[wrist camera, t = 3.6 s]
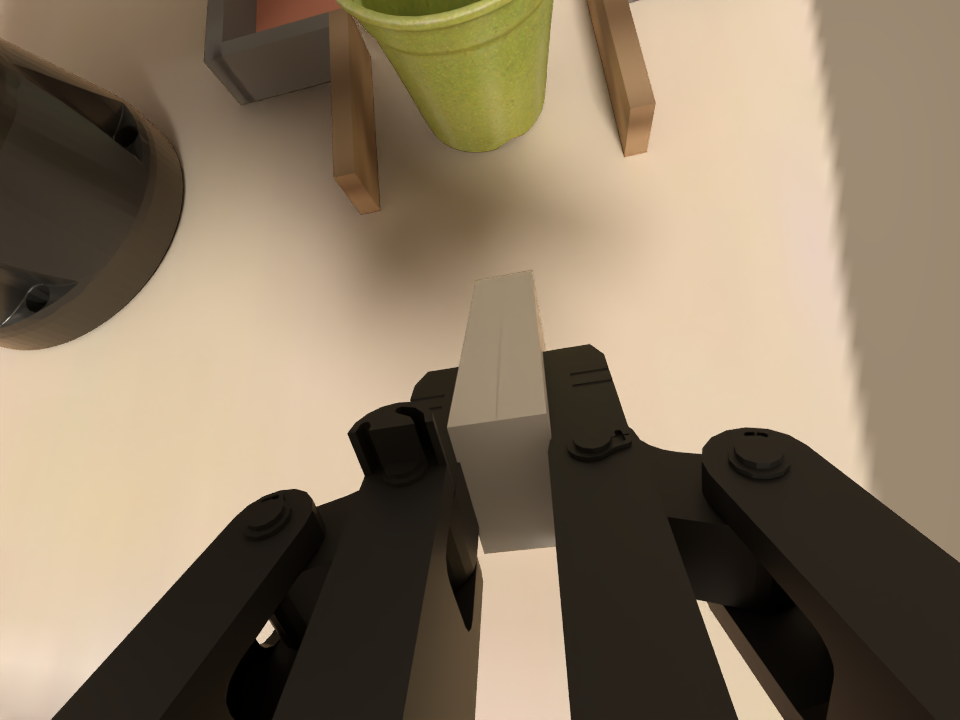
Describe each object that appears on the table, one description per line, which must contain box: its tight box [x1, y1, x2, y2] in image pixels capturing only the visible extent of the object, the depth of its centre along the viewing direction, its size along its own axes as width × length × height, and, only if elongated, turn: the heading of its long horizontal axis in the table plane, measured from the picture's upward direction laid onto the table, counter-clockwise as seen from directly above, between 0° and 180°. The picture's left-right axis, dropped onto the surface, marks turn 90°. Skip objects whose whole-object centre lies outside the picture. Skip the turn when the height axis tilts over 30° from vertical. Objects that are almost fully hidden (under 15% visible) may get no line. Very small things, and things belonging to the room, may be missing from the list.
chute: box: [329, 0, 655, 214], centre depth 24 cm, size 10×14×3 cm
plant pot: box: [335, 0, 553, 152], centre depth 22 cm, size 9×9×9 cm
